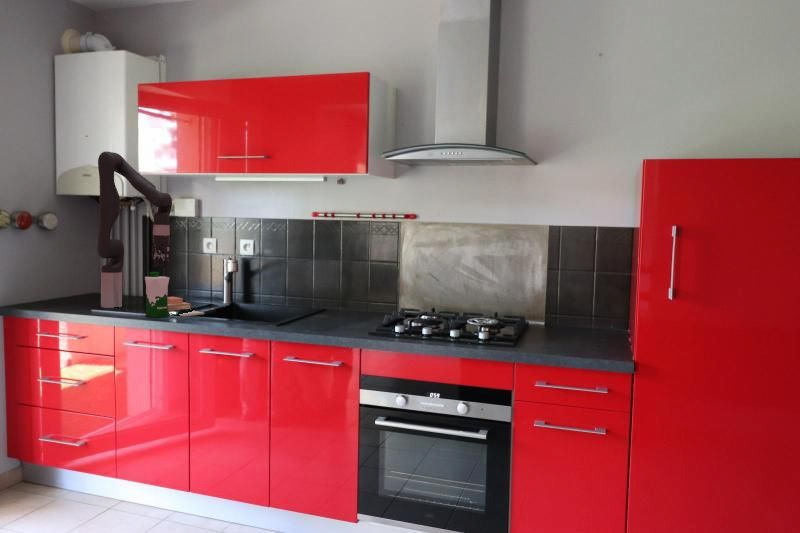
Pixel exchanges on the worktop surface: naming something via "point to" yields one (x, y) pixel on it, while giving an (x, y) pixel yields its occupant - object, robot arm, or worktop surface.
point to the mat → (192, 313)
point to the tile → (175, 300)
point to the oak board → (178, 306)
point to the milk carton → (156, 295)
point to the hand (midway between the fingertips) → (160, 267)
